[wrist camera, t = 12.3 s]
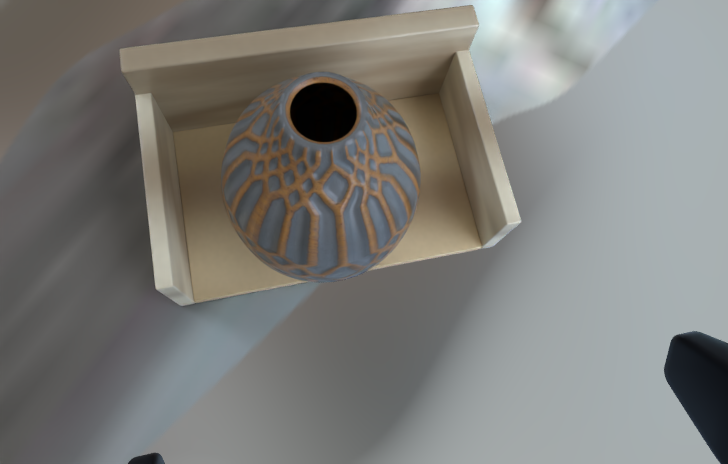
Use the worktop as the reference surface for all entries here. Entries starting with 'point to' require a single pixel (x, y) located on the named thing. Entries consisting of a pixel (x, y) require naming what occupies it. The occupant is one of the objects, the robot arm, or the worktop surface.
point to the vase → (320, 177)
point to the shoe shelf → (288, 60)
